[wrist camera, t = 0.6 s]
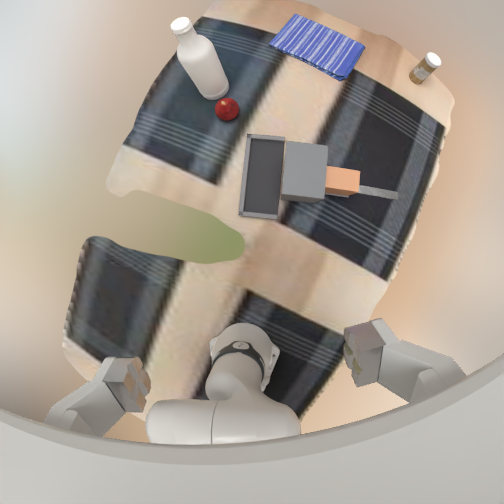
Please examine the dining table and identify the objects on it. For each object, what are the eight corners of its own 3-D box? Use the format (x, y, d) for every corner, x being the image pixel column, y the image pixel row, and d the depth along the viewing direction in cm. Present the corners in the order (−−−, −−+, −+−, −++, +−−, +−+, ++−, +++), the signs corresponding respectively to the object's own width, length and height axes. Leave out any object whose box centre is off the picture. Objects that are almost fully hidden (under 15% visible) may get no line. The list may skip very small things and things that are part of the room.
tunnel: (313, 203, 65) (324, 198, 50) (281, 199, 65) (281, 193, 50) (317, 162, 64) (328, 146, 48) (285, 158, 64) (286, 140, 49)
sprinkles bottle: (412, 69, 57) (430, 49, 44) (423, 79, 57) (443, 60, 44) (406, 77, 57) (425, 56, 44) (418, 87, 57) (438, 68, 44)
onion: (242, 106, 64) (238, 93, 56) (238, 125, 64) (233, 114, 56) (221, 103, 64) (214, 91, 56) (216, 123, 65) (208, 112, 57)
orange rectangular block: (347, 197, 63) (359, 193, 53) (289, 189, 65) (291, 184, 55) (349, 176, 63) (360, 169, 53) (291, 168, 64) (293, 159, 54)
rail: (397, 200, 62) (397, 199, 62) (282, 182, 65) (282, 182, 65) (397, 192, 62) (398, 192, 62) (283, 174, 65) (283, 174, 64)
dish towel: (343, 84, 61) (345, 79, 58) (267, 47, 61) (266, 42, 58) (365, 48, 58) (368, 44, 55) (294, 15, 59) (295, 10, 56)
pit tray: (276, 219, 66) (276, 219, 64) (239, 215, 67) (238, 215, 64) (284, 139, 64) (284, 136, 61) (248, 136, 64) (247, 133, 62)
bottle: (235, 89, 63) (209, 20, 33) (211, 106, 64) (171, 44, 35) (218, 71, 63) (187, 3, 33) (195, 88, 64) (151, 26, 34)
